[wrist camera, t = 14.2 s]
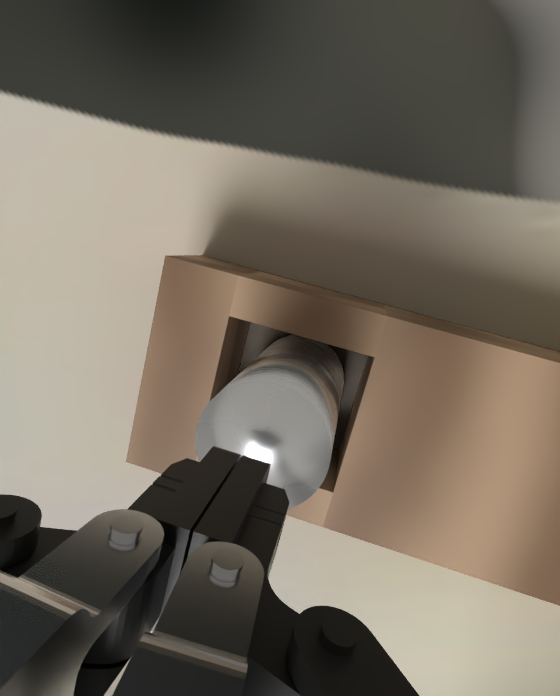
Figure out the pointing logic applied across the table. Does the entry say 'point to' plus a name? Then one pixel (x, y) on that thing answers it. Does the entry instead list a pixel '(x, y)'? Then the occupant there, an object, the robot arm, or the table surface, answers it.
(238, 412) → the brushed metal cylinder
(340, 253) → the table surface
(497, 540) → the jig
